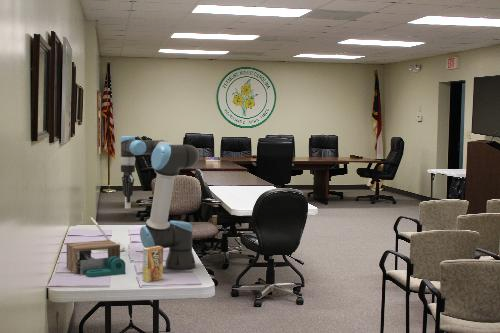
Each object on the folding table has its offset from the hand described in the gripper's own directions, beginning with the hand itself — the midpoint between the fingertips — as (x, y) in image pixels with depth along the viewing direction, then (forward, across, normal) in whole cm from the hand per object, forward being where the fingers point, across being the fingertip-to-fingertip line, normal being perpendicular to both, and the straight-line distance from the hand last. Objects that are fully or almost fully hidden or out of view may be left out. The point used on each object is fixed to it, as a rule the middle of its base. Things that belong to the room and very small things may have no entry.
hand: (127, 208), depth 348 cm
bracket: (+27, -33, +24) cm, 49 cm away
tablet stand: (+27, +27, +3) cm, 38 cm away
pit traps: (+26, -5, +25) cm, 37 cm away
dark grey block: (+26, -16, +25) cm, 40 cm away
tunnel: (+26, -19, +25) cm, 41 cm away
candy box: (+27, -54, +8) cm, 61 cm away
